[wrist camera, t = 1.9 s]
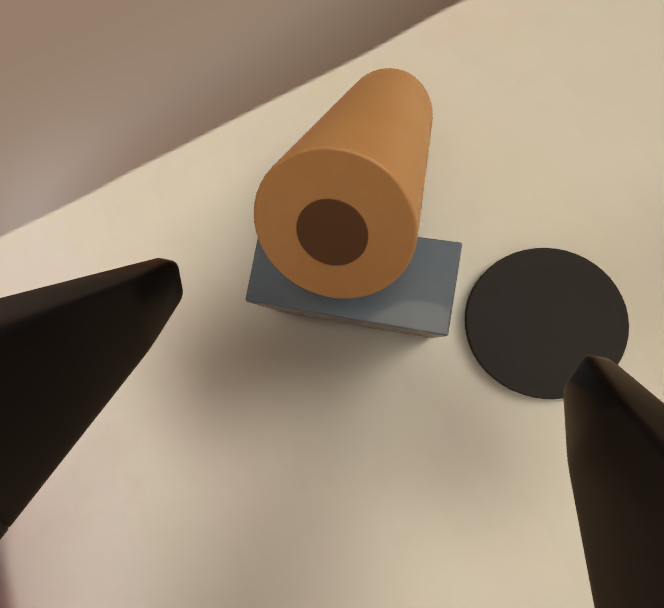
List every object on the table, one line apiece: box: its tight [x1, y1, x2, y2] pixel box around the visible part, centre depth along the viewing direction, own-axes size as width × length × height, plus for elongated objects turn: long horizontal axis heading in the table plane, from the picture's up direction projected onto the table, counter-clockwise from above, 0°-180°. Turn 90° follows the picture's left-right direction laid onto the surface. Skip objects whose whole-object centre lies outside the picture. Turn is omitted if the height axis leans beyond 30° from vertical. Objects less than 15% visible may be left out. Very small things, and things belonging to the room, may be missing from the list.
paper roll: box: [254, 68, 433, 298], centre depth 16 cm, size 13×5×13 cm, turn 170°
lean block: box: [246, 237, 462, 338], centre depth 19 cm, size 4×9×6 cm, turn 80°
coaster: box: [465, 248, 629, 399], centre depth 20 cm, size 8×8×1 cm
